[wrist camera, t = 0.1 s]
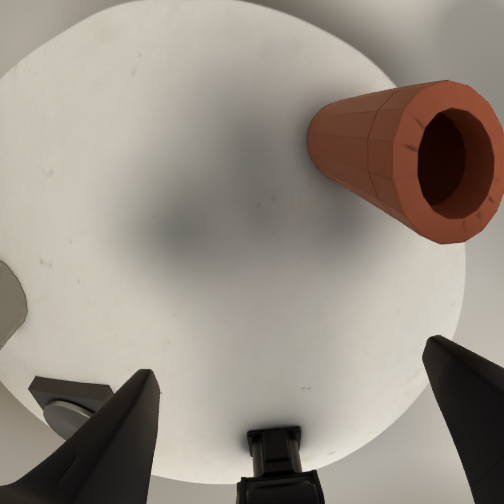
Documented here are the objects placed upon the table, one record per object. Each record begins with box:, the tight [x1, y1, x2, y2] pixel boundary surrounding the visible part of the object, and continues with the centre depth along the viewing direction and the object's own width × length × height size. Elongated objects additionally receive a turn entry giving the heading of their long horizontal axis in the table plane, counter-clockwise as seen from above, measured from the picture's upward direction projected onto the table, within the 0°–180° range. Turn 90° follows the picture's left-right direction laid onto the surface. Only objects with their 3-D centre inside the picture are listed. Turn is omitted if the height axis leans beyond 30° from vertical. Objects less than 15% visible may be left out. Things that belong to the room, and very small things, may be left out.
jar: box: [307, 80, 504, 244], centre depth 14 cm, size 6×6×12 cm
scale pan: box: [43, 401, 93, 441], centre depth 27 cm, size 10×10×1 cm
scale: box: [28, 377, 114, 414], centre depth 29 cm, size 12×12×3 cm
